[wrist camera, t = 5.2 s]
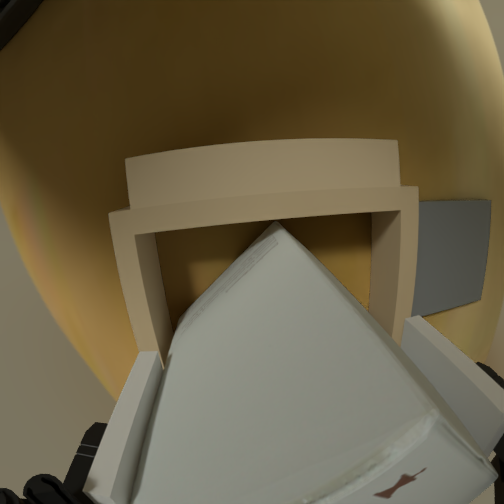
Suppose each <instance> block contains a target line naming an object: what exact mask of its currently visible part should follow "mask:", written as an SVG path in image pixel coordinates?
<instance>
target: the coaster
mask: <svg viewBox="0 0 504 504" xmlns="http://www.w3.org/2000/svg"><path fill="white" fill-rule="evenodd" d="M490 219H491V200H486V199H485V200H428V201H419V226H418V250H417V265H416V277H415V287H414V296H413V304H412V312H411V317H413V316H417V315H420V316H425V315H429V314H432V313H436V312H440V311H444V310H447V309H451V308H454V307H458V306H461V305H465V304H468V303H471V302H474V301H478V300H481V295H482V289H483V284H484V277H485V271H486V263H487V255H488V246H489V234H490Z"/></svg>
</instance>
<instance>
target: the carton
mask: <svg viewBox="0 0 504 504" xmlns="http://www.w3.org/2000/svg"><path fill="white" fill-rule="evenodd" d="M125 166H126V176H127V185H128V194H129V202H130V206H128V207H125V208H122V209H119V210H116V211H113V212H110V213H108V216H109V223H110V229H111V235H112V241H113V247H114V252H115V257H116V262H117V267H118V272H119V277H120V281H121V286H122V290H123V294H124V299H125V303H126V307H127V311H128V314H129V318H130V322H131V326H132V329H133V333H134V336H135V340H136V343H137V346H138V350H139V352H140V351H158V353H159V356H160V360H161V363H162V367H163V370H164V367H165V364H166V360H167V356H168V353H169V350H170V347H171V344H172V340H173V337H174V333H173V329H172V324H171V320H170V315H169V310H168V305H167V301H166V296H165V291H164V285H163V280H162V275H161V269H160V263H159V257H158V251H157V245H156V239H155V232H161V231H169V230H178V229H186V228H195V227H204V226H214V225H223V224H233V223H243V222H253V221H264V220H274V219H286V218H297V217H309V216H322V215H335V214H348V213H363V212H371V222H372V242H371V279H370V297H369V311H368V312H369V313H370V315H371V316H372V317H373V318H374V319H375V320H376V321H377V322H378V323H379V324H380V326H381V327H382V328H383V329H384V330H385V331H386V332H387V333H388V334H389V335H390V337H391V338H392V339H393V340H394V341H395V342H396V343H397V344H398V346H399V347H401V341H402V335H403V328H404V322H405V318H409V317H411V312H412V304H413V296H414V287H415V277H416V265H417V250H418V226H419V189H418V187H417V186H409V185H400V166H399V151H398V140H385V139H357V138H313V139H283V140H265V141H251V142H239V143H228V144H219V145H210V146H201V147H193V148H186V149H179V150H172V151H165V152H159V153H153V154H147V155H142V156H136V157H131V158H126V159H125Z"/></svg>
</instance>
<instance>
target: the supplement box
mask: <svg viewBox="0 0 504 504" xmlns="http://www.w3.org/2000/svg"><path fill="white" fill-rule="evenodd" d="M497 478H498V473H497V471H496V470H495V468H494V467H493V465H492V464H491V463H490V461H489V460H488V458H487V457H486V455H485V454H484V452H483V451H482V450H481V448H480V447H479V445H478V444H477V443H476V441H475V440H474V438H473V437H472V436H471V434H470V433H469V431H468V430H467V429H466V427H465V426H464V425H463V423H462V422H461V421H460V419H459V418H458V417H457V415H456V414H455V413H454V412H453V410H452V409H451V408H450V406H449V405H448V404H447V403H446V401H445V400H444V399H443V398H442V396H441V395H440V394H439V393H438V391H437V390H436V389H435V388H434V386H433V385H432V384H431V383H430V382H429V380H428V379H427V378H426V377H425V375H424V374H423V373H422V372H421V371H420V370H419V368H418V367H417V366H416V365H415V364H414V363H413V362H412V360H411V359H410V358H409V357H408V356H407V355H406V354H405V352H404V351H403V350H402V349H401V348H400V347H399V346H398V344H397V343H396V342H395V341H394V340H393V339H392V338H391V337H390V335H389V334H388V333H387V332H386V331H385V330H384V329H383V328H382V327H381V326H380V324H379V323H378V322H377V321H376V320H375V319H374V318H373V317H372V316H371V315H370V313H369V312H368V311H367V310H366V309H365V308H364V307H363V306H362V305H361V304H360V303H359V302H358V301H357V299H356V298H355V297H354V296H353V295H352V294H351V293H350V292H349V291H348V290H347V289H346V288H345V287H344V286H343V285H342V284H341V283H340V281H339V280H338V279H337V278H336V277H335V276H334V275H333V274H332V273H331V272H330V271H329V270H328V269H327V268H326V267H325V266H324V265H323V264H322V263H321V262H320V261H319V260H318V259H317V258H316V257H315V256H314V255H313V254H312V253H311V252H310V251H309V250H308V249H307V248H305V247H304V246H303V245H302V244H301V243H300V242H299V241H298V240H297V239H296V238H295V237H294V236H292V235H291V234H290V233H289V232H288V231H287V230H286V229H285V228H284V227H283V226H282V225H281V224H280V223H279V222H278V221H274V222H273V223H272V224H271V225H270V226H269V227H268V228H267V229H266V230H265V231H264V232H263V233H262V234H261V235H260V236H259V237H258V238H257V239H256V240H255V241H254V242H253V243H252V244H251V245H250V246H249V247H248V248H247V249H246V250H245V251H244V252H243V253H242V254H241V255H240V256H239V257H238V258H237V259H236V260H235V261H234V262H233V263H232V264H231V265H230V266H229V267H228V268H227V269H226V270H225V271H224V272H223V273H222V274H221V275H220V276H219V277H218V279H217V280H216V281H215V282H214V283H213V284H212V285H211V286H210V287H209V288H208V289H207V290H206V291H205V292H204V293H203V294H202V295H201V296H200V297H199V298H198V299H197V300H196V301H195V302H194V303H193V304H192V305H191V306H190V307H189V308H188V309H187V310H186V311H185V312H184V313H183V314H182V315H181V316H180V318H179V320H178V323H177V327H176V330H175V334H174V337H173V340H172V344H171V347H170V350H169V353H168V356H167V360H166V364H165V367H164V371H163V374H162V378H161V381H160V384H159V388H158V392H157V396H156V399H155V402H154V406H153V409H152V413H151V417H150V420H149V424H148V428H147V432H146V436H145V440H144V444H143V448H142V452H141V457H140V461H139V465H138V470H137V475H136V479H135V483H134V488H133V492H132V497H131V502H130V504H469V503H470V502H471V501H473V500H474V499H475V498H476V497H477V496H479V495H480V494H481V493H482V492H483V491H484V490H485V489H487V488H488V487H489V486H490V485H491V484H492V483H494V481H495V480H496V479H497Z"/></svg>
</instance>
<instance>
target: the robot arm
mask: <svg viewBox="0 0 504 504" xmlns="http://www.w3.org/2000/svg"><path fill="white" fill-rule="evenodd" d="M41 2H42V0H0V49H1V48H2V47H3V46H4V45H5V44H6V43H7V42H8V41H9V40H10V39H11V38H12V36H13V35H14V34H15V33H16V32H17V31H18V30H19V28H20V27H21V26H22V25H23V24H24V23H25V21H26V20H27V19H28V18H29V17H30V15H31V14H32V13H33V12H34V10H35V9H36V8H37V7H38V5H39V4H40V3H41ZM400 348H401V349H402V350H403V351H404V352H405V354H406V355H407V356H408V357H409V358H410V359H411V360H412V362H413V363H414V364H415V365H416V366H417V367H418V368H419V370H420V371H421V372H422V373H423V374H424V375H425V377H426V378H427V379H428V380H429V382H430V383H431V384H432V385H433V386H434V388H435V389H436V390H437V391H438V393H439V394H440V395H441V396H442V398H443V399H444V400H445V401H446V403H447V404H448V405H449V406H450V408H451V409H452V410H453V412H454V413H455V414H456V415H457V417H458V418H459V419H460V421H461V422H462V423H463V425H464V426H465V427H466V429H467V430H468V431H469V433H470V434H471V436H472V437H473V438H474V440H475V441H476V443H477V444H478V445H479V447H480V448H481V450H482V451H483V452H484V454H485V455H486V457H487V458H488V457H489V455H490V454H491V452H492V451H493V450H494V452H495V453H496V456H495V457H494V458H493V460H492V461H491V462H490V463H491V464H492V465H493V467H494V468H495V470H496V471H497V473H498V478H497V479H496V480H495V481H494V487H495V504H504V380H503V379H502V378H501V377H500V376H498V375H497V373H496V372H494V370H492V369H491V368H490V367H488V366H486V365H484V364H482V363H480V362H477V363H474V362H473V361H472V360H471V359H470V358H469V357H468V356H466V355H465V354H464V353H463V352H462V351H461V350H460V349H458V348H457V347H456V346H455V345H454V344H453V343H452V342H450V341H449V340H448V339H447V338H446V337H445V336H443V335H442V334H441V333H440V332H439V331H438V330H436V329H435V328H434V327H433V326H432V325H430V324H429V323H428V322H427V321H426V320H424V319H423V318H422V317H421V316H420V315H417V316H413V317H409V318H405V322H404V328H403V335H402V341H401V347H400ZM163 371H164V370H163V367H162V363H161V360H160V356H159V353H158V351H140V352H139V354H138V357H137V359H136V361H135V363H134V365H133V368H132V370H131V372H130V374H129V376H128V379H127V381H126V383H125V385H124V388H123V390H122V392H121V395H120V397H119V399H118V401H117V404H116V406H115V409H114V411H113V413H112V416H111V418H110V421H109V423H108V424H106V423H98V422H95V423H94V424H93V425H92V426H91V427H90V428H89V429H88V430H87V431H86V432H85V434H84V437H83V439H82V441H81V446H79V448H78V450H77V452H76V453H77V455H75V457H74V459H73V461H72V464H71V466H70V468H69V471H68V473H67V475H66V478H65V480H64V483H62V482H61V481H60V480H58V479H57V478H56V477H55V476H52V475H50V474H39V475H36V476H33V477H32V478H31V479H29V480H28V481H27V483H26V484H25V486H24V489H23V496H25V497H26V498H27V499H20V498H19V497H18V496H17V495H16V494H15V493H14V492H13V491H12V490H9V489H7V488H0V504H130V502H131V497H132V492H133V488H134V483H135V479H136V475H137V470H138V465H139V461H140V457H141V452H142V448H143V444H144V440H145V436H146V432H147V428H148V424H149V420H150V417H151V413H152V409H153V406H154V402H155V399H156V396H157V392H158V388H159V384H160V381H161V378H162V374H163Z"/></svg>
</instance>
